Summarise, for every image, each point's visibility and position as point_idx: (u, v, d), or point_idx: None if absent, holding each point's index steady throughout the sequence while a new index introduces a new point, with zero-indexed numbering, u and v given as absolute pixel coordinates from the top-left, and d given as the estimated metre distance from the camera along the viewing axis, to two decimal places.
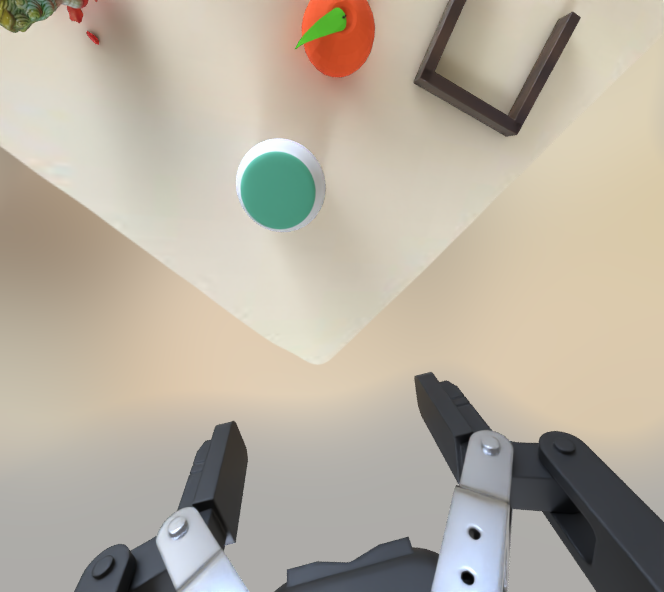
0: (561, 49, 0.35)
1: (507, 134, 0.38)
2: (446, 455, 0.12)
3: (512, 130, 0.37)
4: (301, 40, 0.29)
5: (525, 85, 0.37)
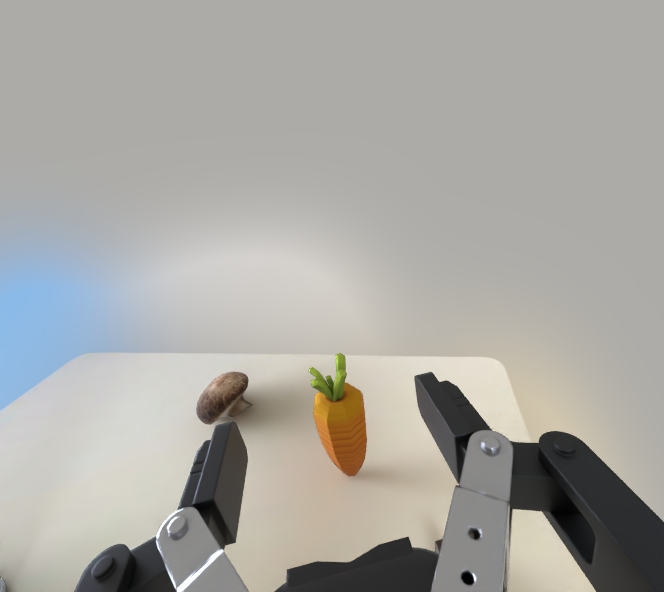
0: None
1: None
2: (446, 455, 0.12)
3: None
4: None
5: None
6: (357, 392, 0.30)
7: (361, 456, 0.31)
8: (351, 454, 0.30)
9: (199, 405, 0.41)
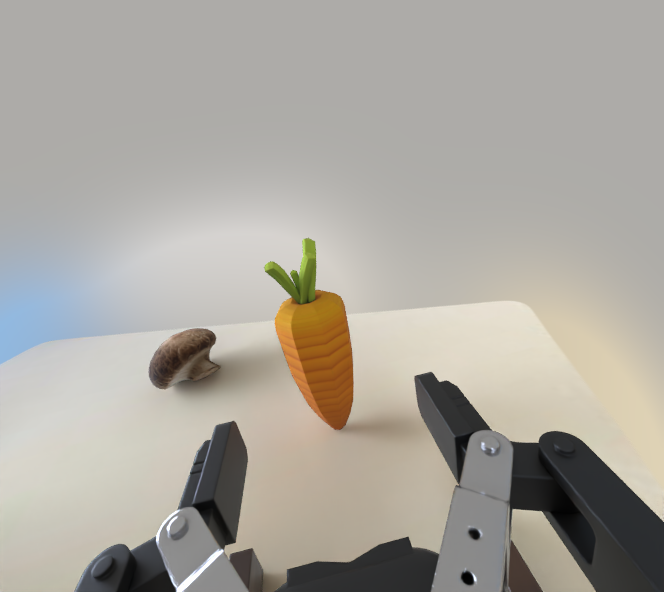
0: (514, 554, 0.14)
1: None
2: (446, 455, 0.12)
3: None
4: None
5: None
6: (335, 296, 0.21)
7: (347, 391, 0.22)
8: (330, 384, 0.21)
9: (150, 363, 0.33)
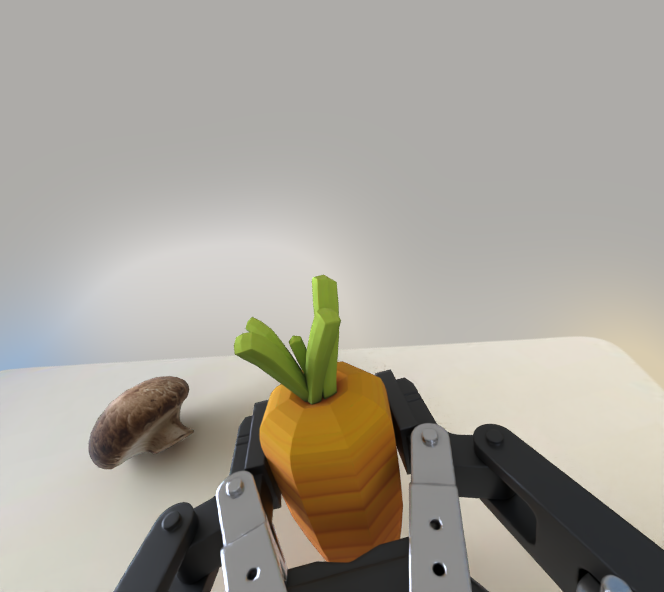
0: None
1: None
2: (398, 448, 0.12)
3: None
4: None
5: None
6: (373, 380, 0.12)
7: None
8: (365, 549, 0.11)
9: (91, 434, 0.23)
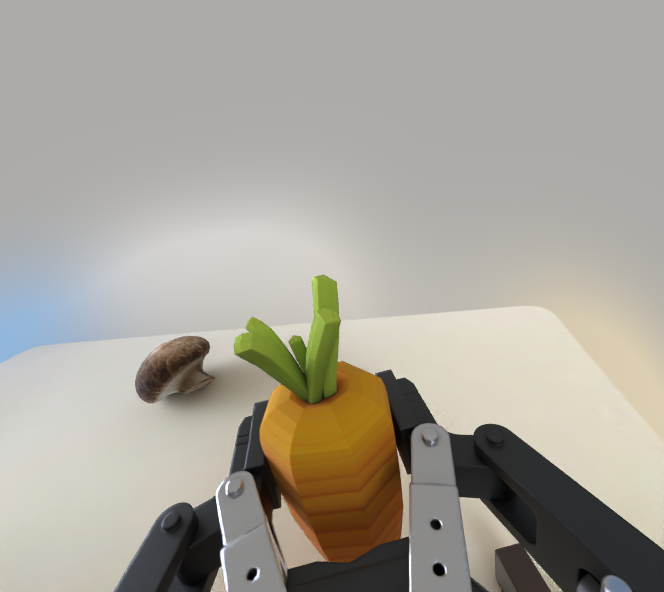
0: None
1: None
2: (399, 448, 0.12)
3: None
4: None
5: None
6: (373, 380, 0.12)
7: None
8: (365, 549, 0.11)
9: None
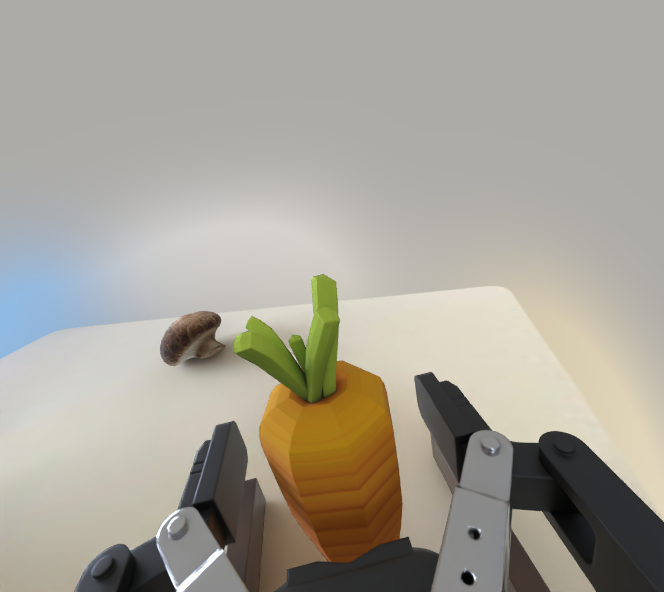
0: None
1: None
2: (446, 455, 0.12)
3: None
4: None
5: None
6: (372, 379, 0.12)
7: None
8: (364, 547, 0.11)
9: (161, 341, 0.36)
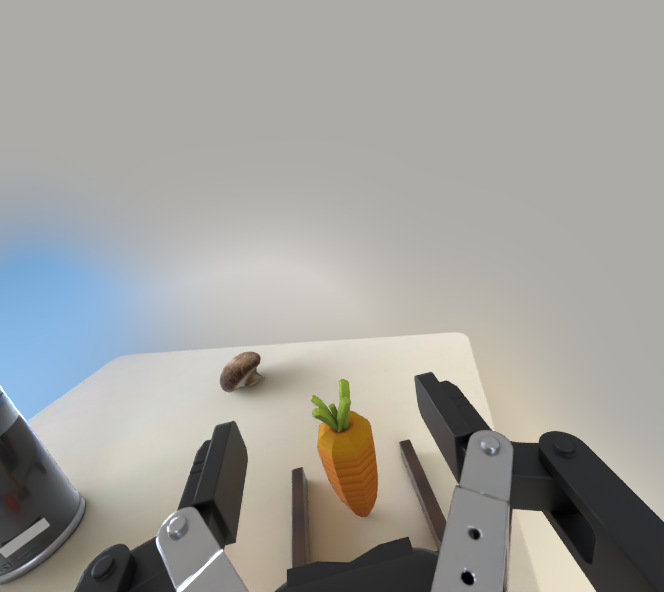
0: (418, 463, 0.33)
1: None
2: (446, 455, 0.12)
3: None
4: None
5: (424, 512, 0.30)
6: (364, 421, 0.27)
7: (372, 493, 0.28)
8: (360, 492, 0.27)
9: (222, 375, 0.52)
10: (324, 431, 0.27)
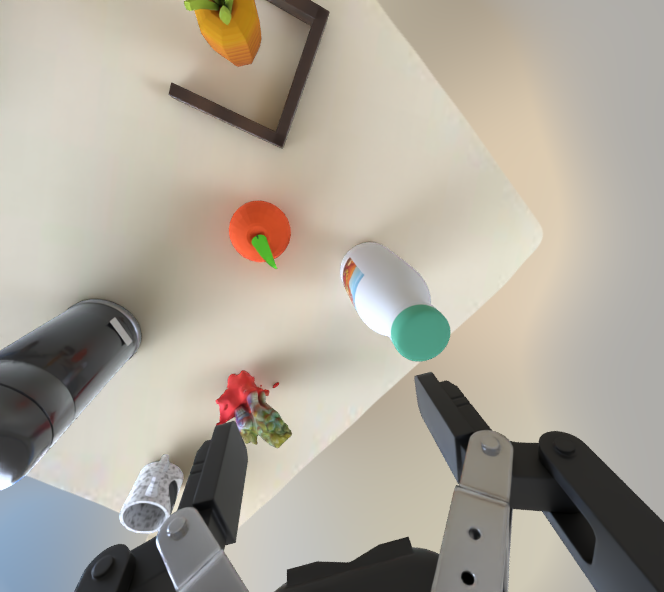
0: None
1: (326, 22, 0.33)
2: (446, 455, 0.12)
3: (325, 20, 0.32)
4: (273, 266, 0.36)
5: (275, 3, 0.32)
6: None
7: None
8: (259, 43, 0.29)
9: None
10: (218, 27, 0.24)
